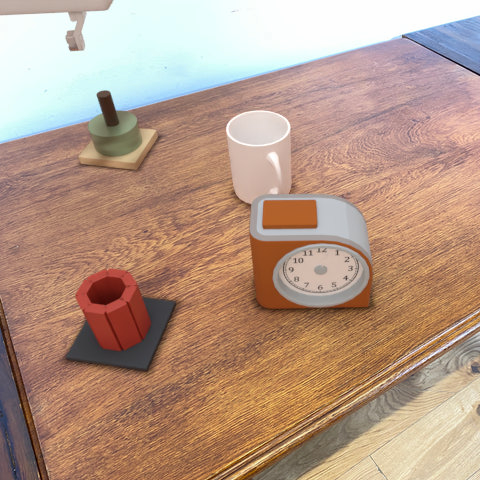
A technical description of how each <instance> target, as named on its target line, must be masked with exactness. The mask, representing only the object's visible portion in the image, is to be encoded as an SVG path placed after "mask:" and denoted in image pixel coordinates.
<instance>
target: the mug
mask: <svg viewBox="0 0 480 480" xmlns="http://www.w3.org/2000/svg"><path fill="white" fill-rule="evenodd" d="M225 131H226V141H227V148H228V149H227V150H228V156H229V163H230V172H231V180H232V186H233V187H232V188H233V190H234V193H235V195H236V197H237V198H239V200H240V201H243V202H244V203H245V204H249V205H251V204H252V202H253V200H254V199H255V198H257V197H259V196H261V195H265V194H290V192H291V190H292V184H293V183H292V180H293V179H292V177H293V176H292V140H291V138H292V137H291V134H292V133H291V123H290V121H289V120H288V119H287V118H286V117H284V115H282V114H279V113H277V112H274V111H270V110H250V111H245V112H243V113H239V114H237V115H235V116H234V117H232V118H231V119H230V120H229V121H228V123H227V124H226V129H225Z"/></svg>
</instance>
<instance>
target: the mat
mask: <svg viewBox="0 0 480 480" xmlns="http://www.w3.org/2000/svg"><path fill="white" fill-rule="evenodd" d="M142 298H143V301H144V304H145V307H146V309H147V312H148V315H149V317H150V320H151V325H150V327H149V330H148V332H147V334H146V336H145V338H144V339H142V341H141V342H139V343H138V344H136V345H134V346H132V347H130V348H128V349H126V350H123V348H122V351H116V350H109V349H103V347H101V346H100V345H99V343H98V341H97V339H96V337H95V335H94V333H93V331H92V329H91V327H90V325H89V323H88V321H87V319H86V320H85V322H84V324H83V326H82V327H81V328H80V331H79V333H78V334H77V336H76V337H75V339H74V341H73V343H72V345H71V346H70V348H69V350H68V352H67V354H66V356H65V358H66V360H67V361H68V360H69V361H75V362H76V361H77V362H82V363H88V364H96V365H103V366H109V367H117V368H122V369H130V370H137V371H144V372H148V371H149V369H150V366H151V364H152V361H153V359H154V357H155V354H156V352H157V350H158V347H159V345H160V343H161V340H162V339H163V336H164V333H165V331H166V329H167V327H168V324H169V322H170V320H171V317H172V315H173V312H174V310H175V307H176V306H177V302H176V301H175V300H166V299H160V298H151V297H146V296H145V297H144V296H142Z"/></svg>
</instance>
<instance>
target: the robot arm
mask: <svg viewBox="0 0 480 480" xmlns="http://www.w3.org/2000/svg"><path fill="white" fill-rule="evenodd" d="M113 2H114V0H0V16H18V15H19V16H21V15H35V14H36V15H39V14H60V13H62V14H64V13H67V14H68V17H69V20H70V22H72V23H73V22H75V27H74V29H71V30H70V29H69V30H67V31H66V34H65V36H64V38H65V42H66V44H67V45H68V50H69V51H70V52H80V51H81V52H82V51H85V48H86V41H85V39H84V35H83V31H82V30H83V28H84V24H85V21H86V17H87V12H105V11H108V10H109V9H110V8H111V6H112V4H113Z"/></svg>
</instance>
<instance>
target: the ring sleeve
mask: <svg viewBox="0 0 480 480" xmlns="http://www.w3.org/2000/svg"><path fill="white" fill-rule="evenodd" d="M142 297H143V296H142V293H141V290H140V288H139V285H138V282H137V281H136V280H135V278H134V276H133V274H131V272H130V271H128V270H124V269H116V268H110V267H109V268H108V269H107V268H104V269H102V270H100V271H98V272H95V273H93V274H91V275H88V276H86V279H84V280H83V281H82V283H81V284H80V286H79V288H78V289H77V291H76V293H75V296H74V298H75V300H76V302H77V304H78V306H79V308H80V310H81V312H82V314H83V315H84V318H85V319H86V320H87V321H88V323H89V325H90V327H91V329H92V331H93V333H94V335H95V337H96V339H97V341H98V343H99V345H100V346H101V347H103V349H109V350H116V351H122V348H123V350H126V349H128V348H130V347H132V346H134V345H136V344H138V343H139V342H141V341H142V339H144V338H145V336H146V334H147V332H148V330H149V327H150V325H151V320H150V317H149V315H148V312H147V309H146V307H145V304H144V301H143V298H142Z"/></svg>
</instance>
